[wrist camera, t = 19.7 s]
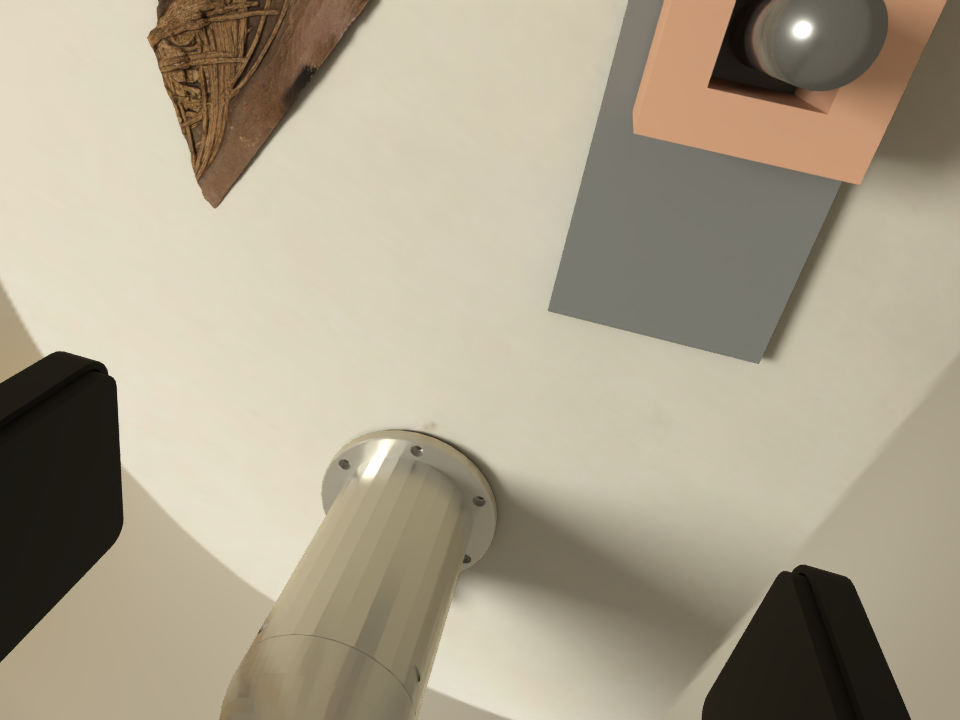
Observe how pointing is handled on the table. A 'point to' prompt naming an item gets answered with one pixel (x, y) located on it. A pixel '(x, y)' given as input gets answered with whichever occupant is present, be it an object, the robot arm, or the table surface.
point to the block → (774, 95)
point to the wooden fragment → (240, 72)
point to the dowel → (810, 39)
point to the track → (684, 221)
